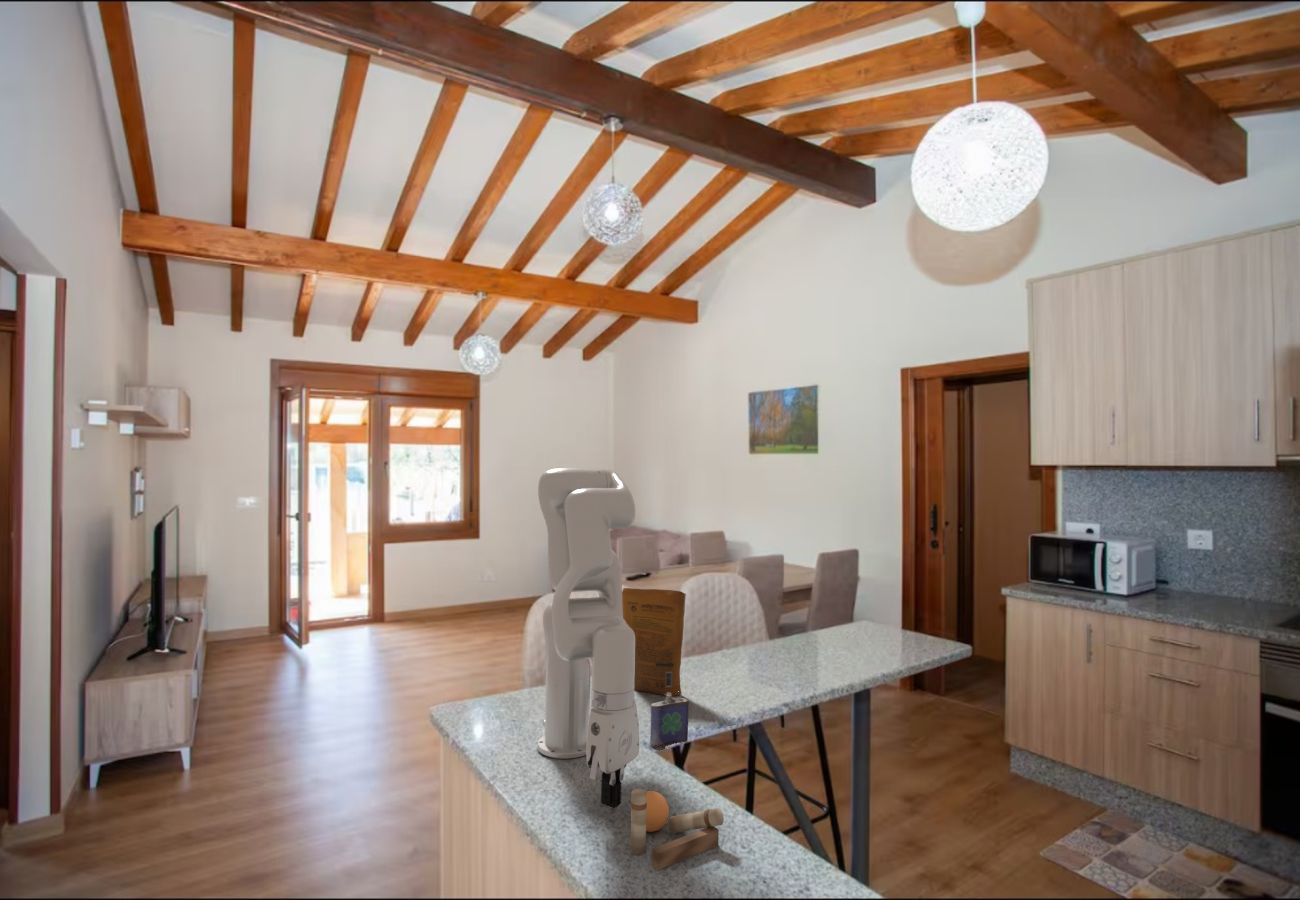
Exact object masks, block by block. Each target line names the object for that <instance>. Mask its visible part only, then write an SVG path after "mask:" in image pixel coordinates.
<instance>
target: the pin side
mask: <svg viewBox="0 0 1300 900" xmlns="http://www.w3.org/2000/svg"><path fill="white" fill-rule="evenodd" d="M646 791H647V790H646V789H643V788H635V789H633V790H631V796H630V797H631V799H630V847H629V848H630V853H631V854H633V855H635V856H641V855H644V854H645V853H646V850H647V847H646V846H647V831H646V808H647V792H646Z"/></svg>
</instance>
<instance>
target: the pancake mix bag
mask: <svg viewBox="0 0 1300 900" xmlns="http://www.w3.org/2000/svg"><path fill="white" fill-rule="evenodd" d="M686 596H687V594H686V593H684V592H683V591H682V590H681V591H680V590H671V589H660V588H659V589H658V588H655V589H653V588H645V589H643V588H630V587H623V588H622V599H623V619H624V620H625V621H626V623H627V624H628V625H629V627H630V628H631V629H632V630H633V631H634V633H635V676H634V691H637V692H644V693H647V694H648V693H649V694H655V695H661V696H665V697H667V694H666V693H669V692H670V693H672V694H671V696H672V697H674V696H676V697H677V696H679V695H682V690H681V689H682V688H681V676H680V673H681V664H682V650H683V649H682V648H683V642H684V641H683V640H684V627H685V626H684V625H685V623H684V622H685V612H686V609H685V608H686ZM678 691H679V692H678ZM665 694H666V695H665Z"/></svg>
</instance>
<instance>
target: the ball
mask: <svg viewBox="0 0 1300 900" xmlns="http://www.w3.org/2000/svg"><path fill="white" fill-rule="evenodd" d="M645 791H646V792H647V808H646V832H649V833H653V832H657V831H659V830H661V829H662V828H663V827H664V826H665V825H666V823H667V821H668V818H669V813H670V810H669V804H668V802H667V800H666V798H665V797H664V795H662V794H661V793H660V792H658V791H654V790H645Z"/></svg>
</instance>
